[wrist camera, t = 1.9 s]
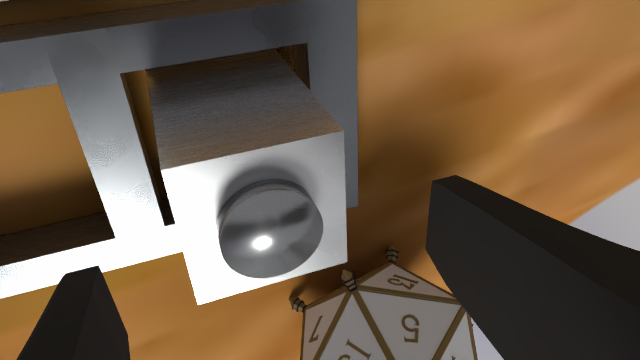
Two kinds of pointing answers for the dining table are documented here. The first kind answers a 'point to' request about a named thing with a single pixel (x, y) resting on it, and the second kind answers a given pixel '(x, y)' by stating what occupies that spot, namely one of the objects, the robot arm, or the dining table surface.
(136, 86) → the dining table surface
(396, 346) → the game die
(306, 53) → the metal frame
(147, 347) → the dining table surface
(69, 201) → the dining table surface
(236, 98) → the grey knob block
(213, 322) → the dining table surface
